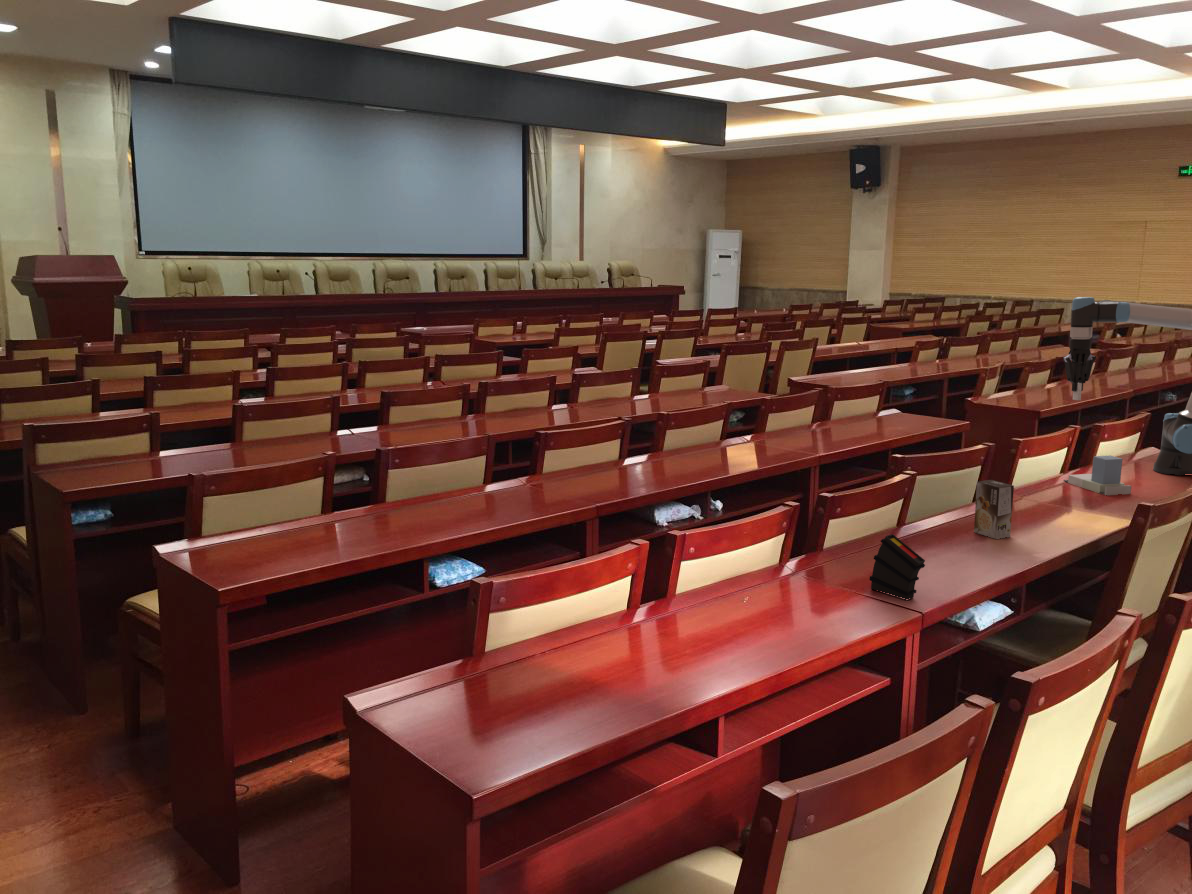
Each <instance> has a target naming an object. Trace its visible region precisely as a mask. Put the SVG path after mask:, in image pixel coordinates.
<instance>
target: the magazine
mask: <svg viewBox="0 0 1192 894" xmlns="http://www.w3.org/2000/svg"><path fill="white" fill-rule="evenodd" d="M880 543H881V544H880V547H879V548H878V551H877V554H875V555H873V560H875V561H874V564H873V567H872V575H870V576H869V580H868V581H871V585H870V590H871V589H874V590H878V591H882V592H885V593H889V594H892V595H895V596H898V597H902V598H905V599H909V598H912V597H914V596H915V594H916V593H917V589H915V587H916V582H917V581H919V579H920V577H919V576H918V574H919V572H920V570H922V569H923V568H925V566H926V564H925V562H926V560H925V559H924V557H922V556H921V555H919V554H918V553H917V552H915V550H913V549H912V548H910V547H909V546H908V545H907V544H906V543H905V542H903V541H902V540H901V539H900V538H898V537H897V536H896V535H894V534H889V535H886V536H885V538H882V539H881V540H880ZM874 590H873V591H874ZM914 598H915V597H914Z"/></svg>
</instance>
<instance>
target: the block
mask: <svg viewBox="0 0 1192 894" xmlns="http://www.w3.org/2000/svg"><path fill="white" fill-rule="evenodd" d="M1122 469H1123V458H1121V457H1117V456H1114V455H1110V454H1109V455H1094V456H1093V459H1092V470H1091V474H1092V478H1091V481H1094V482H1097V483H1100V484H1119V483H1120V482H1121V479H1122V478H1121V477H1122Z"/></svg>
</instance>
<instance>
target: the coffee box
mask: <svg viewBox="0 0 1192 894" xmlns="http://www.w3.org/2000/svg"><path fill="white" fill-rule="evenodd" d="M1014 490H1015V485H1013V484H1009V483H1005V482H1002V481H999V480H998V481H997V480H993V479H987V480H981V481H976V491H975V494H976V495H975V505H974V506H975V508H974V509H975V510H974V523H973V524H974V525H973V526H974V527H973V533H975V534H978V535H982V536H985V537H987V536H988V537H987V538H991V539H993V540H999V539H1000V538H1001V539H1006V538H1005V537H1007V538H1010V537H1011V529H1012V519H1013V517H1012V516H1013V502H1014Z"/></svg>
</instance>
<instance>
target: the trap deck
mask: <svg viewBox="0 0 1192 894" xmlns="http://www.w3.org/2000/svg"><path fill="white" fill-rule="evenodd" d="M1091 478H1092V473H1081V474H1080V473H1079V474H1068V478H1067V479H1063V482H1064V481H1065V482H1064V483H1066V484H1067V483H1068V484H1071V485H1074V486H1075V487H1080V488H1083V489H1085V490H1088V491H1092V492H1095V493H1097V494H1100V495H1103V494H1104V495H1103V496H1106V495H1107V496H1119V495H1118V494H1122V495H1131V494H1132V485H1129V484H1127V485H1125V483H1124V482H1122V481H1120V483H1119V484H1100V483H1097V482H1094V481H1091Z"/></svg>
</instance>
